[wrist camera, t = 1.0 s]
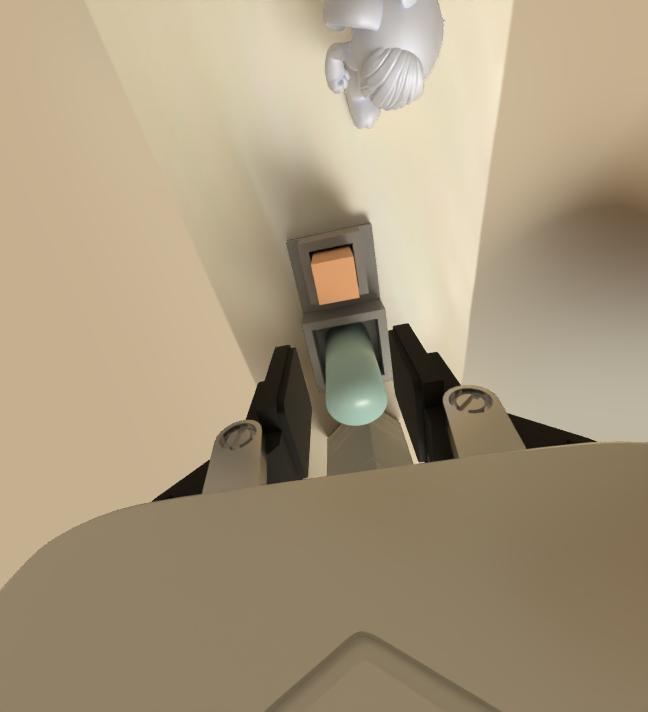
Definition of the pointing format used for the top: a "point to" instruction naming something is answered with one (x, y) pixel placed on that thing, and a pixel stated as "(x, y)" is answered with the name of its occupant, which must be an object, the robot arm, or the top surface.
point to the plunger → (335, 275)
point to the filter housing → (343, 312)
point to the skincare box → (367, 447)
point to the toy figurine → (382, 53)
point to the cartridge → (353, 376)
